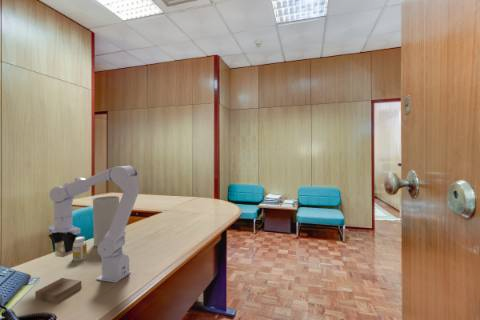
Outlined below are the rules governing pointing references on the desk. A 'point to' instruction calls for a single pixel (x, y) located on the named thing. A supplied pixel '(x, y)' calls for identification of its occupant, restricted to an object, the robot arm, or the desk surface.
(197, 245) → the desk surface
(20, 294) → the desk surface
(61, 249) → the maple block
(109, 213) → the cylinder vase
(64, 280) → the walnut block
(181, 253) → the desk surface
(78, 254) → the supplement bottle
